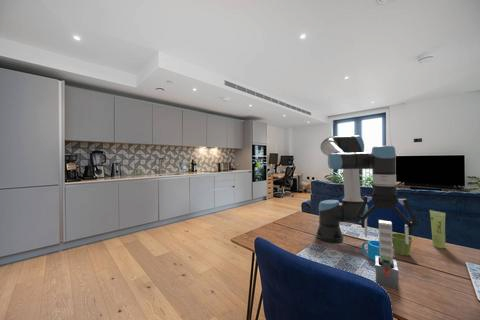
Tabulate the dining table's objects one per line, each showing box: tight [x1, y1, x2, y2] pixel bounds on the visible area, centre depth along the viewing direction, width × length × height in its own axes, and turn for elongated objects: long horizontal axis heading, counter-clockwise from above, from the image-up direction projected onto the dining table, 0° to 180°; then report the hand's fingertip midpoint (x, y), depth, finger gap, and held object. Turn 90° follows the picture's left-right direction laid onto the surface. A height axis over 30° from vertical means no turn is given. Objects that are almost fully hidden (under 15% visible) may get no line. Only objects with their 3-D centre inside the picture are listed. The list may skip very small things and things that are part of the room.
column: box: [378, 219, 394, 266], centre depth 76 cm, size 4×6×16 cm
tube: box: [429, 209, 447, 249], centre depth 106 cm, size 6×5×20 cm
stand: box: [375, 256, 400, 290], centre depth 76 cm, size 18×12×10 cm, turn 55°
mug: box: [361, 239, 380, 262], centre depth 95 cm, size 12×8×8 cm
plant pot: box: [392, 232, 414, 257], centre depth 100 cm, size 9×9×9 cm
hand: (385, 239), depth 76 cm, fingers open, 12 cm apart
